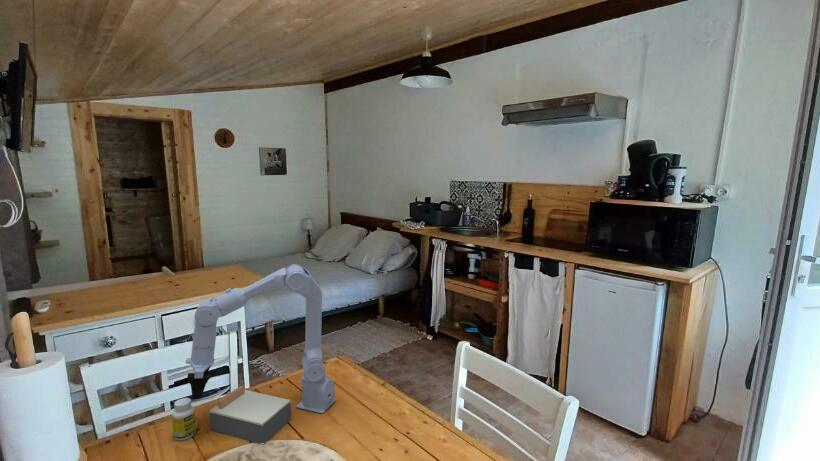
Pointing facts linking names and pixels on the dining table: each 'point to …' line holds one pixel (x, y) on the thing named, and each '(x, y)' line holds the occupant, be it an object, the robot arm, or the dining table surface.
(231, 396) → the lid
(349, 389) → the dining table surface
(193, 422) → the supplement bottle
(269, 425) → the gray open box
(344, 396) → the dining table surface
